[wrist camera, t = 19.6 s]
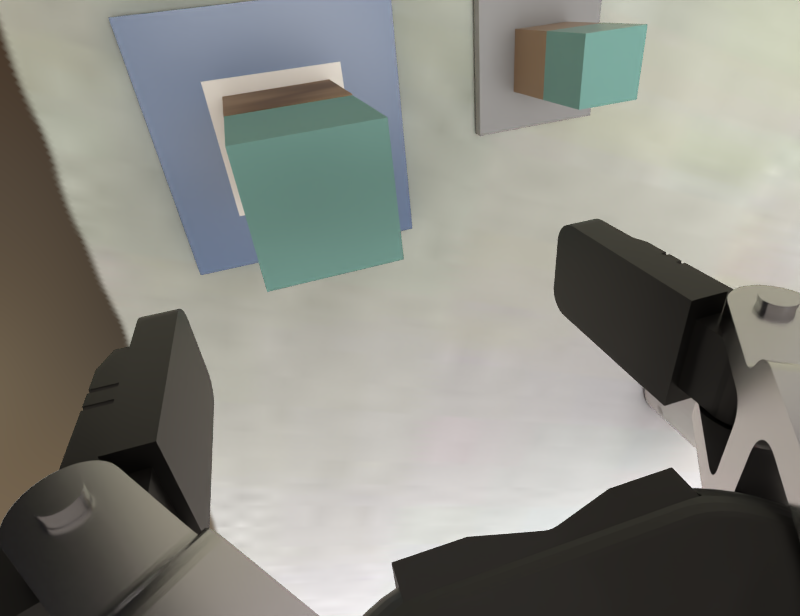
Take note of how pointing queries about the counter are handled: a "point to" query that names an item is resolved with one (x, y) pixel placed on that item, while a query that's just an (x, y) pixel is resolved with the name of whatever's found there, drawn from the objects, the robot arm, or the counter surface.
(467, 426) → the counter surface
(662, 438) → the counter surface
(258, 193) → the teal cube
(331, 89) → the walnut cube
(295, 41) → the board
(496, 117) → the stacked block model
